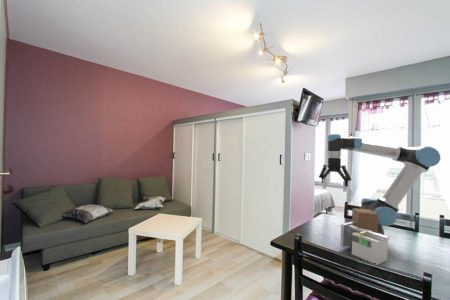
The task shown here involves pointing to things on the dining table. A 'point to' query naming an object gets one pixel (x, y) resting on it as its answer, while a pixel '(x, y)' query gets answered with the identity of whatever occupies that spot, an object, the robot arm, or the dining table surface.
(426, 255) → the dining table surface
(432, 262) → the dining table surface
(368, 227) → the wooden block
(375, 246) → the white box
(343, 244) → the gauge plunger
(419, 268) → the dining table surface
